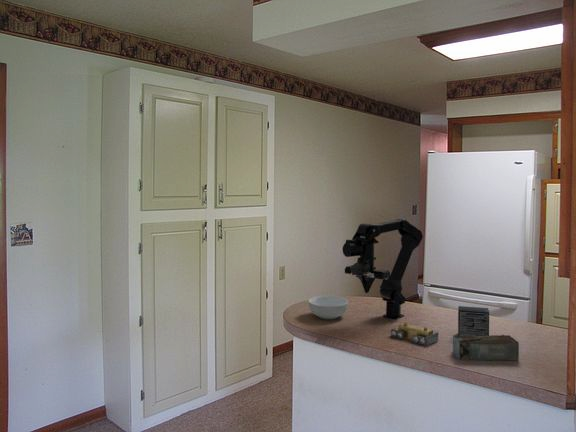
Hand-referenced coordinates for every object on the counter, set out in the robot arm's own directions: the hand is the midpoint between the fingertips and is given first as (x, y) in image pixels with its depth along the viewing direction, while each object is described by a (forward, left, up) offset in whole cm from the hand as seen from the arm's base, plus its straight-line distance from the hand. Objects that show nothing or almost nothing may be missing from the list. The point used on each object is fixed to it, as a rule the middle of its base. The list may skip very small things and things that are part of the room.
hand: (366, 292), depth 190 cm
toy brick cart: (+5, +24, -12) cm, 27 cm away
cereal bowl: (+5, -16, -12) cm, 21 cm away
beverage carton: (+4, +50, -12) cm, 51 cm away
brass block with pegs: (+5, +25, -12) cm, 28 cm away
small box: (-12, +39, -12) cm, 43 cm away
